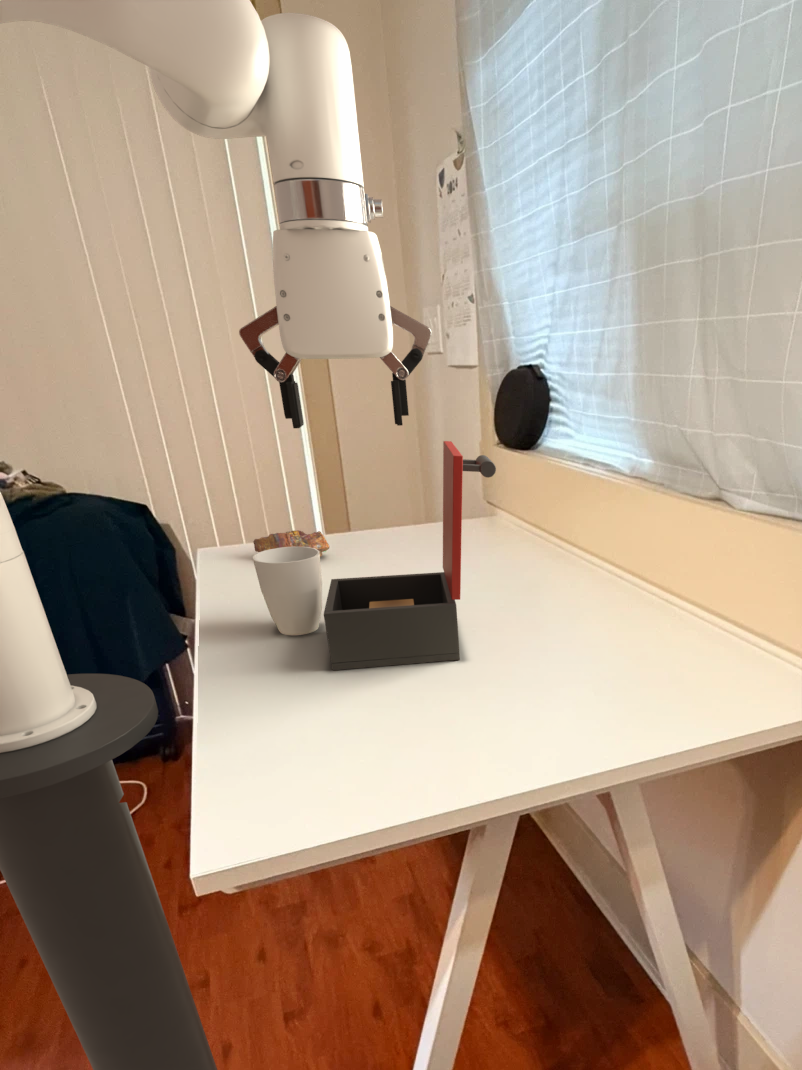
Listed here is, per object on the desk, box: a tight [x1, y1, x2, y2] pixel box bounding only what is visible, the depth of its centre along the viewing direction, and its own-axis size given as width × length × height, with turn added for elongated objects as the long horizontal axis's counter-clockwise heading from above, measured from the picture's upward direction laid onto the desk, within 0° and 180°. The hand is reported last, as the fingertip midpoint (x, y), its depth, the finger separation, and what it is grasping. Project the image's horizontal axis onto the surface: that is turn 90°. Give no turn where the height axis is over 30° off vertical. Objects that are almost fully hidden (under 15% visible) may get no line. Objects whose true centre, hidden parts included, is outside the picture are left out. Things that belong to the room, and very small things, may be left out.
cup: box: [252, 547, 323, 636], centre depth 92 cm, size 8×8×10 cm
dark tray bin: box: [323, 571, 461, 671], centre depth 87 cm, size 15×14×7 cm
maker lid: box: [442, 440, 497, 601], centre depth 84 cm, size 16×14×5 cm
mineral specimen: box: [252, 530, 330, 558], centre depth 124 cm, size 12×8×7 cm
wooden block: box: [369, 599, 414, 608], centre depth 88 cm, size 6×6×4 cm
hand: (349, 425), depth 70 cm, fingers open, 9 cm apart
